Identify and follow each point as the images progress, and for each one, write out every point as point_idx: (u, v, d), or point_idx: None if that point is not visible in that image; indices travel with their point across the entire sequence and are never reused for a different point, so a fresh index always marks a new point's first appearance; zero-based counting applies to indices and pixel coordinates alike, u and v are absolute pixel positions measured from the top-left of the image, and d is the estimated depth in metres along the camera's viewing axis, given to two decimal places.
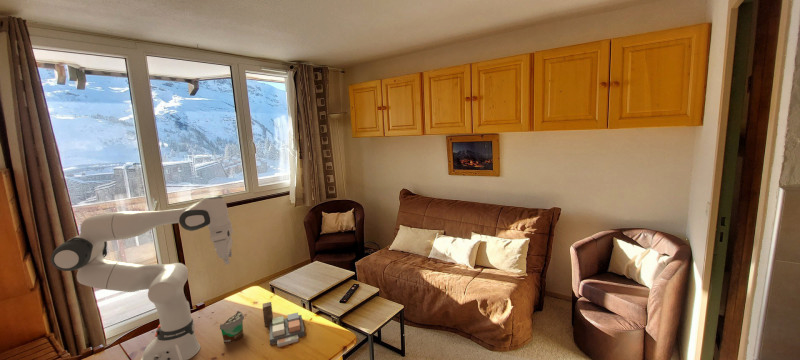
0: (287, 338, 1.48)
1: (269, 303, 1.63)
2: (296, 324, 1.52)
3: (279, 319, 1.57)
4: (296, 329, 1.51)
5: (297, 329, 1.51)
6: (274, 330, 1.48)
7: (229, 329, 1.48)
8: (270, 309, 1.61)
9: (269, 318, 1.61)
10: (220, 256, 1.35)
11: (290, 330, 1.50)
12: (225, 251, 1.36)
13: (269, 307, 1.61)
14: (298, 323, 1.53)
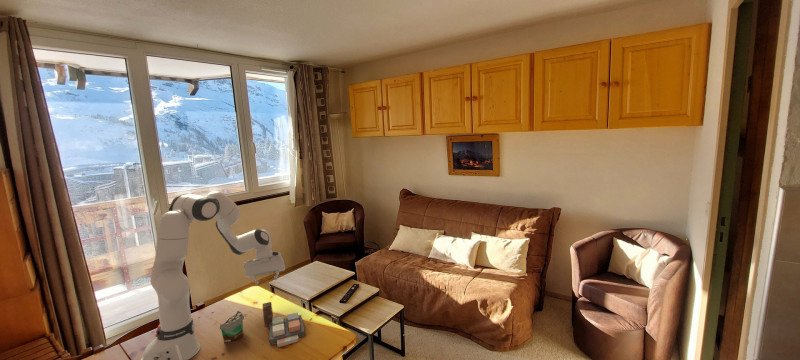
0: (287, 338, 1.48)
1: (269, 303, 1.63)
2: (296, 324, 1.52)
3: (279, 319, 1.57)
4: (296, 329, 1.51)
5: (297, 329, 1.51)
6: (274, 330, 1.48)
7: (229, 329, 1.48)
8: (270, 309, 1.61)
9: (269, 318, 1.61)
10: (284, 266, 1.78)
11: (290, 330, 1.50)
12: None
13: (269, 307, 1.61)
14: (298, 323, 1.53)
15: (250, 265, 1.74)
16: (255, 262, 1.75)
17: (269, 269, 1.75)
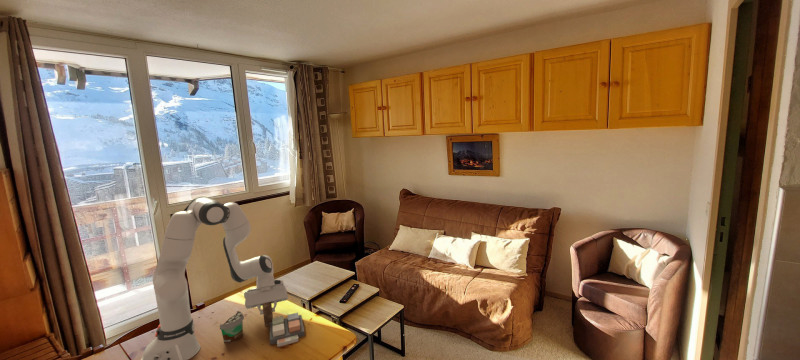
0: (287, 338, 1.48)
1: (269, 303, 1.63)
2: (296, 324, 1.52)
3: (279, 319, 1.57)
4: (296, 329, 1.51)
5: (297, 329, 1.51)
6: (274, 330, 1.48)
7: (229, 329, 1.48)
8: (270, 309, 1.61)
9: (269, 318, 1.61)
10: (287, 296, 1.68)
11: (290, 330, 1.50)
12: None
13: (269, 307, 1.61)
14: (298, 323, 1.53)
15: (251, 295, 1.63)
16: (256, 291, 1.65)
17: (271, 299, 1.65)
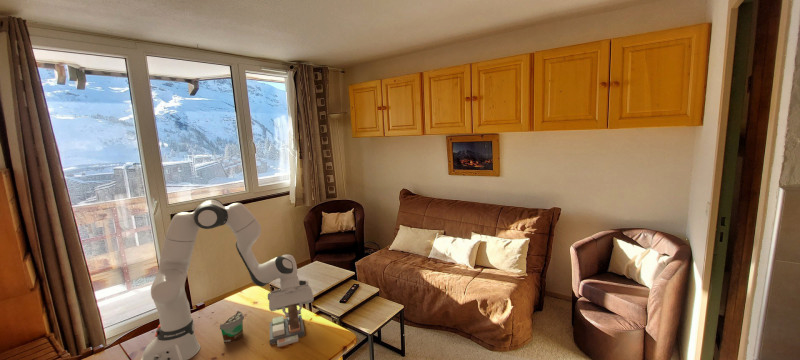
0: (287, 338, 1.48)
1: (294, 305, 1.53)
2: None
3: (279, 319, 1.57)
4: None
5: None
6: (274, 330, 1.48)
7: (229, 329, 1.48)
8: (296, 311, 1.51)
9: (295, 321, 1.51)
10: (313, 298, 1.58)
11: None
12: None
13: (295, 309, 1.50)
14: None
15: (275, 296, 1.53)
16: (280, 293, 1.55)
17: (297, 300, 1.54)
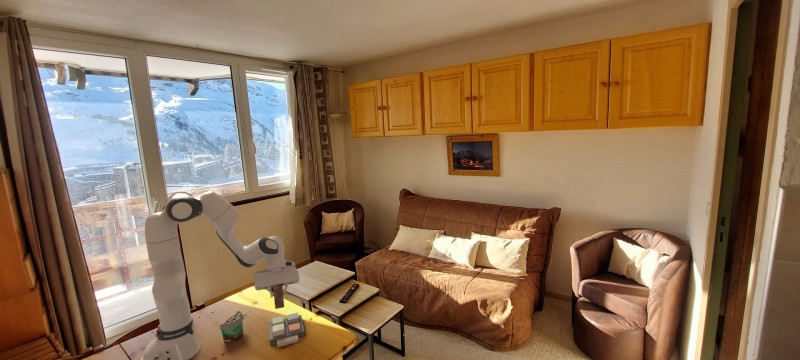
0: (287, 338, 1.48)
1: (280, 285, 1.54)
2: (296, 327, 1.52)
3: (279, 319, 1.57)
4: None
5: None
6: (274, 330, 1.48)
7: (229, 329, 1.48)
8: (281, 291, 1.52)
9: (280, 301, 1.52)
10: None
11: None
12: None
13: (280, 289, 1.51)
14: (298, 326, 1.53)
15: (260, 276, 1.54)
16: (266, 273, 1.56)
17: (282, 280, 1.55)
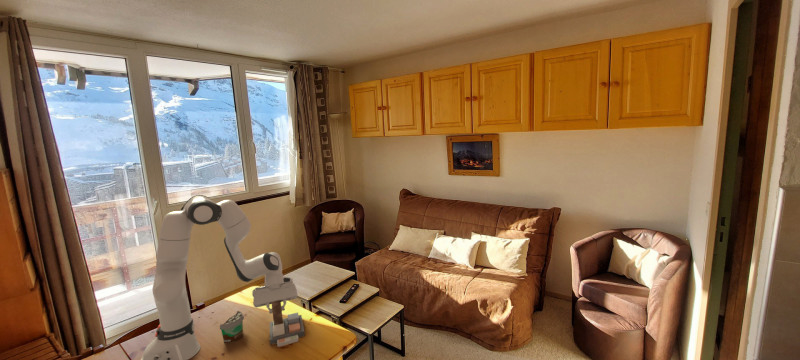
0: (287, 338, 1.48)
1: (278, 301, 1.57)
2: (296, 327, 1.52)
3: None
4: None
5: None
6: (274, 330, 1.48)
7: (229, 329, 1.48)
8: (279, 308, 1.55)
9: (279, 317, 1.55)
10: None
11: None
12: None
13: (278, 305, 1.54)
14: (298, 326, 1.53)
15: (259, 293, 1.57)
16: (265, 289, 1.59)
17: (281, 297, 1.58)
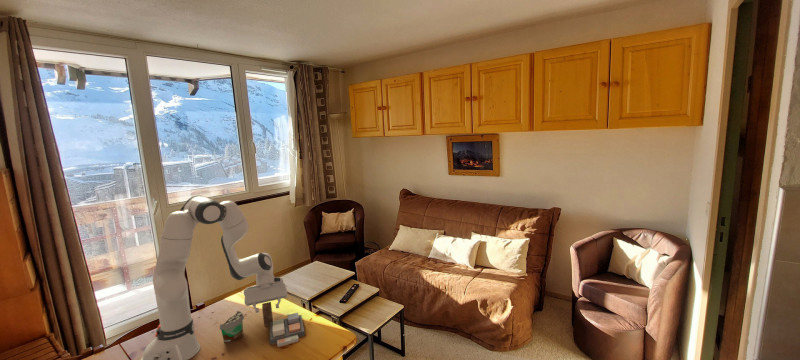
0: (287, 338, 1.48)
1: (269, 303, 1.63)
2: (296, 327, 1.52)
3: (279, 322, 1.57)
4: None
5: None
6: (274, 330, 1.48)
7: (229, 329, 1.48)
8: (270, 309, 1.61)
9: (269, 318, 1.61)
10: None
11: None
12: None
13: (269, 307, 1.60)
14: (298, 326, 1.53)
15: (250, 292, 1.63)
16: (255, 289, 1.65)
17: (271, 296, 1.64)
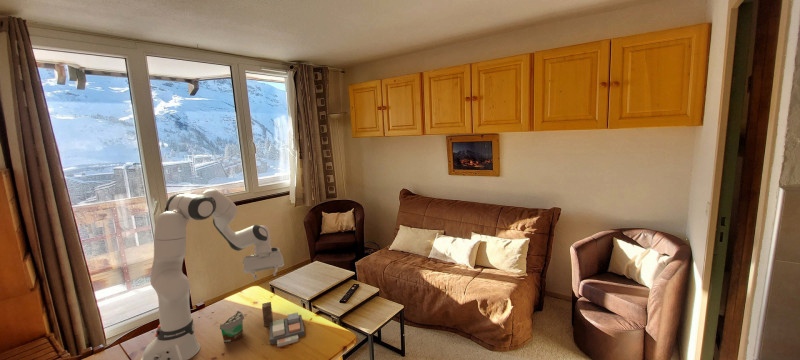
0: (287, 338, 1.48)
1: (269, 303, 1.63)
2: (296, 327, 1.52)
3: (279, 322, 1.57)
4: None
5: None
6: (274, 330, 1.48)
7: (229, 329, 1.48)
8: (270, 309, 1.61)
9: (269, 318, 1.61)
10: (283, 262, 1.78)
11: None
12: None
13: (268, 307, 1.60)
14: (298, 326, 1.53)
15: (249, 260, 1.73)
16: (254, 257, 1.75)
17: (268, 264, 1.75)
